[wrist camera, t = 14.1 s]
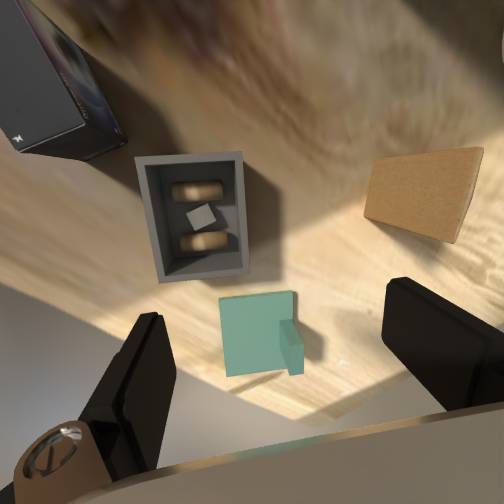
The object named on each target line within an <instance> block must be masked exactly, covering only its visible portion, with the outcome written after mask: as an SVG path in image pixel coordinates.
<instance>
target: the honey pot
mask: <svg viewBox="0 0 504 504" xmlns="http://www.w3.org/2000/svg"><path fill="white" fill-rule="evenodd" d="M502 57H503V63H504V30H503V39H502Z"/></svg>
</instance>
